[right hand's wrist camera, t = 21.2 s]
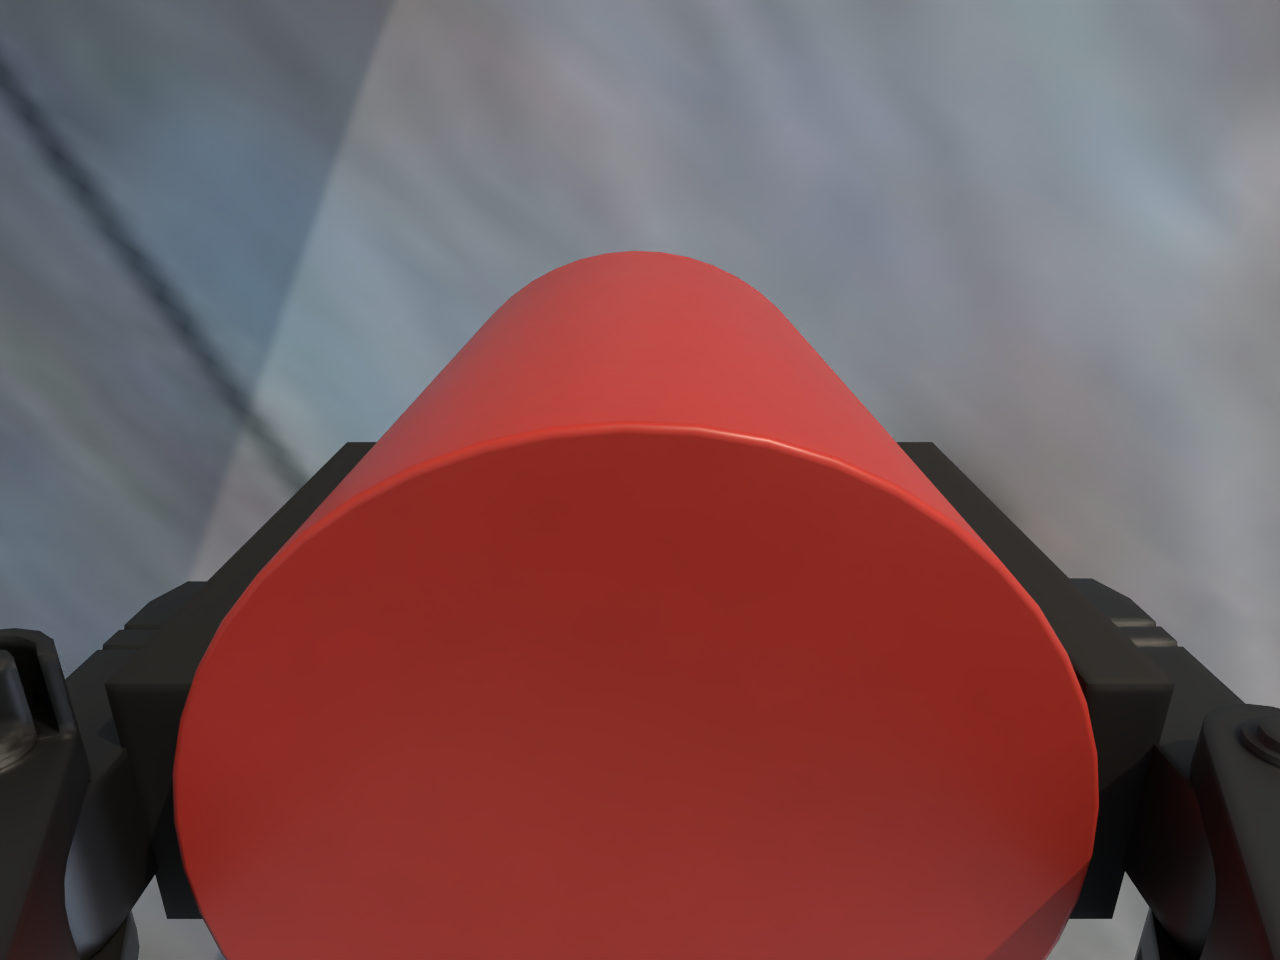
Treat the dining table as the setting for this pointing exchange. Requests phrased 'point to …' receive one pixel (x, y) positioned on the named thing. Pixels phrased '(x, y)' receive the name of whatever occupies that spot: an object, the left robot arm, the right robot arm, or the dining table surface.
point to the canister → (635, 671)
